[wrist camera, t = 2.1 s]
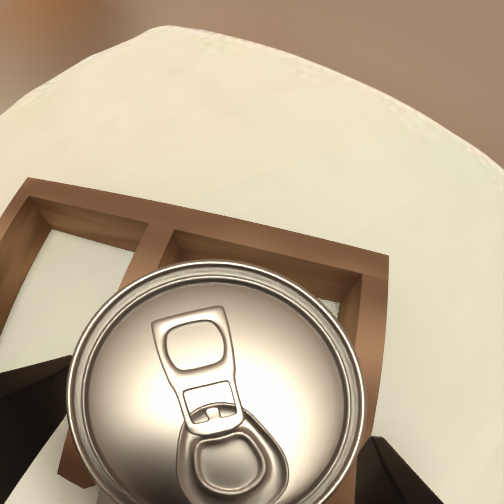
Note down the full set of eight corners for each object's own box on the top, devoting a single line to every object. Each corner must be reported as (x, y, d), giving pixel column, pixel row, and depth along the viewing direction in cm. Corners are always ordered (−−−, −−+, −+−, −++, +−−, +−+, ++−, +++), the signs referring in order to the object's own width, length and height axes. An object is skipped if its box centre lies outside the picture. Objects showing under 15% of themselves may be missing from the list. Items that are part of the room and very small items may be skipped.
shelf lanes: (317, 527, 12) (338, 551, 8) (-30, 383, 14) (-66, 369, 10) (363, 286, 19) (388, 255, 16) (48, 210, 21) (27, 177, 18)
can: (186, 479, 13) (99, 570, 3) (156, 371, 16) (39, 277, 6) (302, 449, 14) (425, 486, 4) (266, 344, 17) (316, 212, 7)
